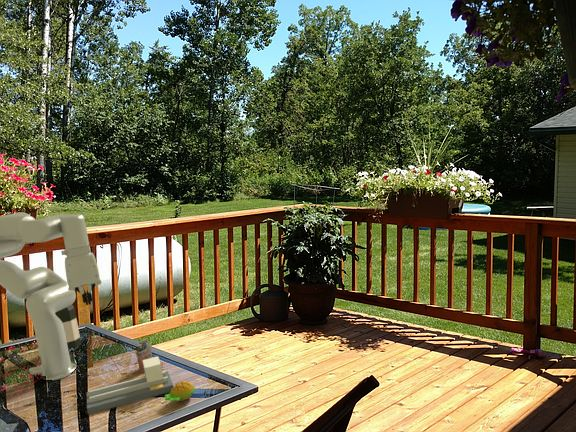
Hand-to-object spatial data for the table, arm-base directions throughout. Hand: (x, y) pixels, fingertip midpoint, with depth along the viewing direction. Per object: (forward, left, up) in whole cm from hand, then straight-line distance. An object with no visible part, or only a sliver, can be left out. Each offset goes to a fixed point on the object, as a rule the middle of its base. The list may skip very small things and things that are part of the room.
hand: (88, 303), depth 186 cm
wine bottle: (-11, +39, -27) cm, 49 cm away
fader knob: (+16, -19, -25) cm, 35 cm away
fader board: (+8, -19, -27) cm, 34 cm away
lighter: (+15, -1, -27) cm, 31 cm away
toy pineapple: (+22, -33, -27) cm, 48 cm away
